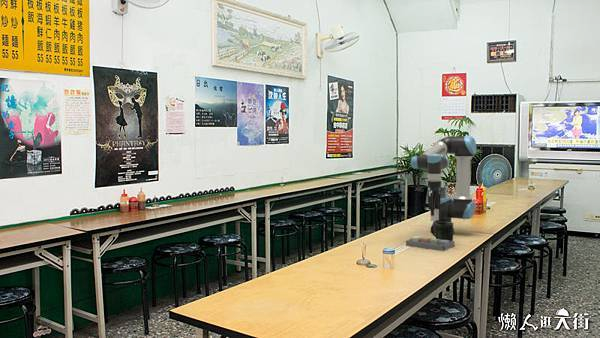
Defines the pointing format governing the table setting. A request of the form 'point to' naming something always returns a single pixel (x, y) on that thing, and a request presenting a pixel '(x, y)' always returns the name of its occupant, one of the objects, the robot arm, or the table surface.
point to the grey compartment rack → (430, 245)
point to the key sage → (434, 241)
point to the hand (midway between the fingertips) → (434, 220)
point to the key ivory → (416, 238)
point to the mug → (443, 230)
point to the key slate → (443, 242)
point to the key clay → (425, 239)
